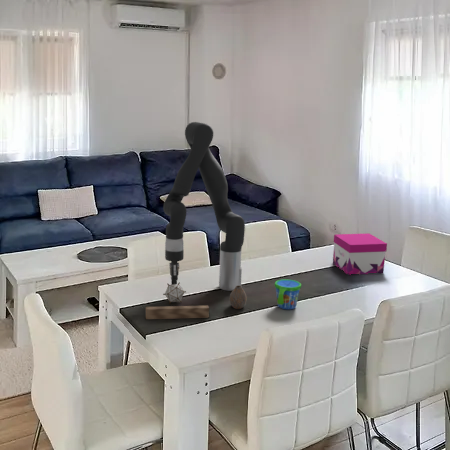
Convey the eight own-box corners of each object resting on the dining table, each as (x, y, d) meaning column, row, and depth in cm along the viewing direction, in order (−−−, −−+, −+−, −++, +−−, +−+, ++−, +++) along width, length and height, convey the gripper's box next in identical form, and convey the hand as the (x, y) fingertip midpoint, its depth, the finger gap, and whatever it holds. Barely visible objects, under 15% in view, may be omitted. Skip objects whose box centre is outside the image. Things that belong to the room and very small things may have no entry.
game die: (177, 312, 251) (182, 298, 244) (158, 303, 251) (163, 290, 244) (185, 295, 257) (190, 282, 250) (166, 287, 257) (171, 273, 250)
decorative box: (331, 263, 310) (334, 234, 306) (366, 261, 314) (369, 233, 311) (347, 275, 292) (350, 245, 289) (384, 273, 297) (387, 243, 293)
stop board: (207, 315, 239) (208, 305, 238) (208, 317, 237) (208, 307, 236) (145, 316, 236) (145, 306, 235) (145, 319, 234) (145, 309, 233)
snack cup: (284, 298, 260) (285, 275, 257) (306, 304, 254) (308, 280, 252) (265, 309, 247) (267, 285, 244) (289, 315, 241) (290, 291, 239)
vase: (228, 303, 252) (229, 283, 250) (245, 303, 252) (246, 283, 250) (230, 310, 245) (230, 289, 243) (247, 310, 246) (248, 289, 243)
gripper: (184, 252, 246) (184, 293, 250) (182, 243, 258) (182, 282, 263) (165, 253, 245) (165, 294, 249) (164, 243, 257) (164, 282, 262)
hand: (174, 288), depth 256 cm, fingers closed
